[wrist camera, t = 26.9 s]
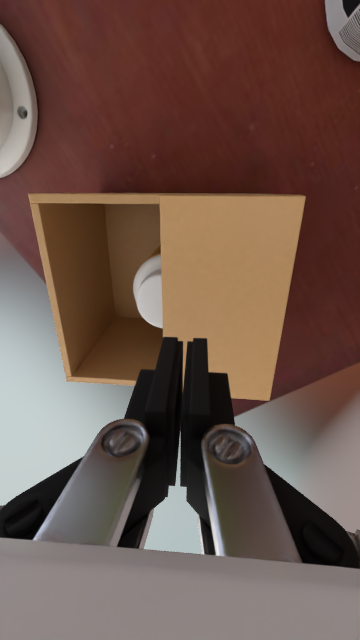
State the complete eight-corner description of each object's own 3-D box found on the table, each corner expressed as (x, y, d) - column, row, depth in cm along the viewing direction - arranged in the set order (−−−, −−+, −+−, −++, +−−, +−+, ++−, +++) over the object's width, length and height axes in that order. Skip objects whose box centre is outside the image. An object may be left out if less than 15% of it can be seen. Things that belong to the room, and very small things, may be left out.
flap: (303, 196, 14) (306, 196, 14) (268, 397, 19) (269, 401, 19) (160, 195, 15) (159, 195, 14) (164, 390, 20) (164, 393, 20)
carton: (262, 193, 25) (302, 194, 14) (247, 324, 30) (268, 393, 20) (99, 192, 26) (27, 193, 16) (112, 318, 31) (66, 381, 21)
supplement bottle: (216, 250, 27) (221, 281, 17) (194, 300, 29) (188, 351, 20) (162, 227, 26) (138, 247, 17) (144, 280, 29) (114, 322, 19)
